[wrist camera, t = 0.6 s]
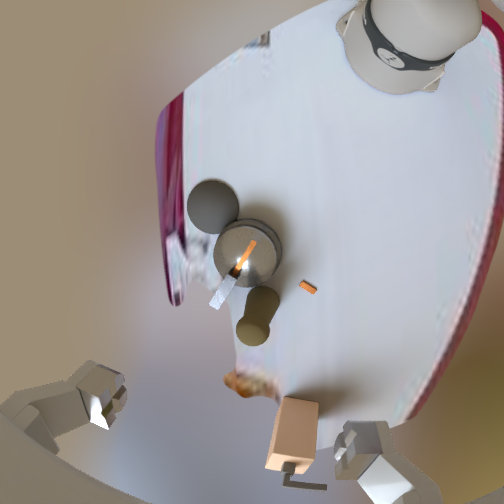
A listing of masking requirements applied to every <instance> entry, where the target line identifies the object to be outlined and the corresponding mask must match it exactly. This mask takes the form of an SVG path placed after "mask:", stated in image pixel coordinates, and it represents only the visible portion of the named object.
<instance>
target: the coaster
mask: <svg viewBox="0 0 504 504" xmlns="http://www.w3.org/2000/svg"><path fill="white" fill-rule="evenodd" d="M187 211H188V215H189V218H190V220H191V221H192V223H193V224H194V225H195V226H196V227H197V228H198V229H199V230H201V231H203V232H205V233H209V234H219V233H221V232H222V231H223V230H224V229H225V228H226V227H227V226H228V225H229V224H231V223H233V222H235V221H236V219H237V216H238V202H237V199H236V196H235V194H234V193H233V192H232V190H231V189H230V188H229V187H227V186H226V185H225V184H223V183H220V182H216V181H207V182H203V183H201V184H199V185H197V186H196V187H195V188H194V189H193V190H192V191H191V193H190V195H189V197H188V201H187Z"/></svg>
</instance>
